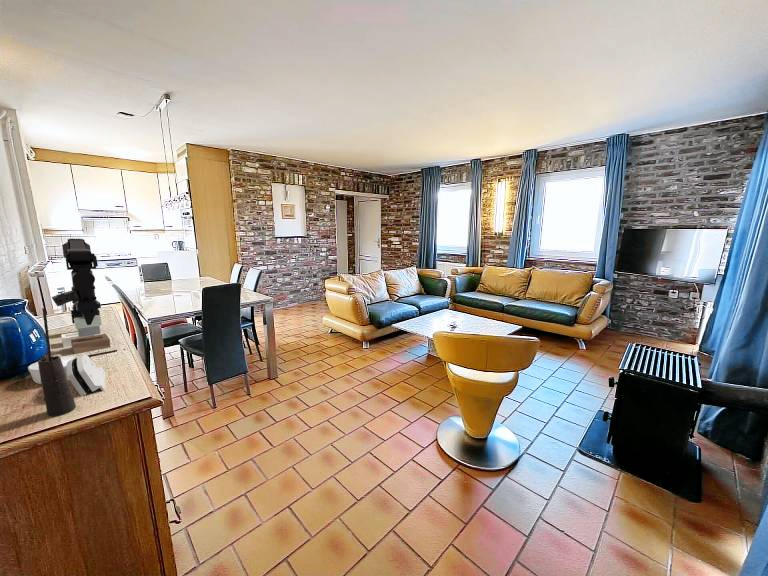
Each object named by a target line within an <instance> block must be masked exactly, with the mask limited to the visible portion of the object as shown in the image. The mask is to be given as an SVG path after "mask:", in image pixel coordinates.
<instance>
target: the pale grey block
mask: <svg viewBox="0 0 768 576" xmlns="http://www.w3.org/2000/svg"><path fill="white" fill-rule="evenodd" d="M74 321H75V323H74V327H75V329H76V330H77V332H78V336H79V337H83V336H89V335H101V326H102V318H101V316H99V315H95V317H94V319H93V321H92V324H91V325H87V323H86V321H85V318H84V317H79V318H74Z"/></svg>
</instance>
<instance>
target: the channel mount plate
mask: <svg viewBox="0 0 768 576" xmlns="http://www.w3.org/2000/svg"><path fill="white" fill-rule="evenodd" d="M71 344H72V346H71V349H72V352H73V353H74V355H78V354H83V353H88V352H95V351H99V350H104V349H109V348H112V347H111V340H110V337H109V336H108V335H107V334H106V333H103V334H101V333H100V334H96V335H94V336H88V337H82V338H76V339H71ZM112 353H118V350H117V349H114V350H109V351H103V352H97V353H92V354H87V355H88V357H89V358H93V357H97V356H103V355H107V354H112Z"/></svg>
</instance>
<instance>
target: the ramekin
mask: <svg viewBox="0 0 768 576" xmlns="http://www.w3.org/2000/svg"><path fill="white" fill-rule="evenodd" d="M59 357H60V358H61V361H62V364H63V368H64V371H65V374H66V376H67V371H66V366H67V363H68V362H69V361H70V360H72V359H73V358H78V357H79V356H76V355H65V356H59ZM27 370H28V372H29V373H30V375H31V379H32V380H33V382H35V383H36V384H39V385H42V383H41V377H40V372H39V365H38V361H36V362H34V363H31V364H30V365H29V366H27ZM67 380H69V378H68V376H67Z"/></svg>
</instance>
